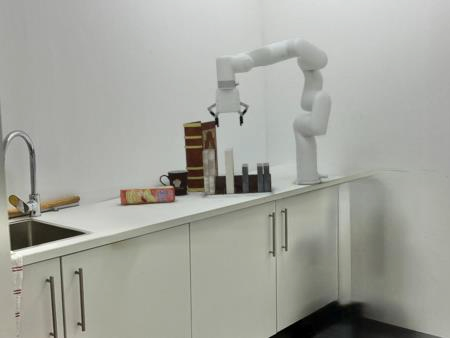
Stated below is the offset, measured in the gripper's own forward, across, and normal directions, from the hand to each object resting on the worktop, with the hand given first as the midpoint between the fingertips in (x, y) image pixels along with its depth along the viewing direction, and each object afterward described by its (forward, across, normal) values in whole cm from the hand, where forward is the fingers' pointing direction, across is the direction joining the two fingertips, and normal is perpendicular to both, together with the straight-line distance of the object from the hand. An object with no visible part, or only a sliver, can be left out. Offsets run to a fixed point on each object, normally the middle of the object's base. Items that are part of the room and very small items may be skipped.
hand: (229, 126), depth 261 cm
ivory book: (+28, +1, +2) cm, 28 cm away
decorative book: (+29, +15, -20) cm, 38 cm away
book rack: (+29, -2, +1) cm, 29 cm away
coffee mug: (+28, +25, -4) cm, 38 cm away
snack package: (+28, +34, +13) cm, 46 cm away
